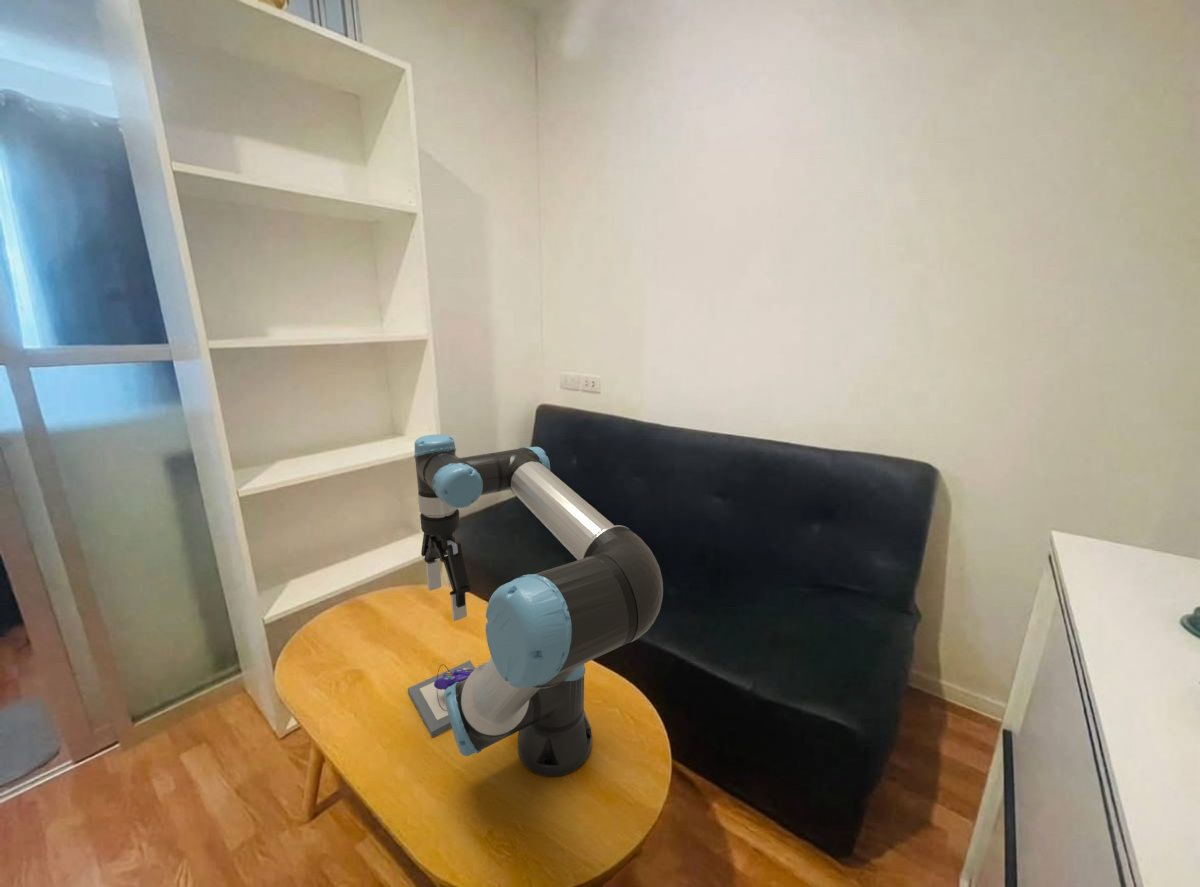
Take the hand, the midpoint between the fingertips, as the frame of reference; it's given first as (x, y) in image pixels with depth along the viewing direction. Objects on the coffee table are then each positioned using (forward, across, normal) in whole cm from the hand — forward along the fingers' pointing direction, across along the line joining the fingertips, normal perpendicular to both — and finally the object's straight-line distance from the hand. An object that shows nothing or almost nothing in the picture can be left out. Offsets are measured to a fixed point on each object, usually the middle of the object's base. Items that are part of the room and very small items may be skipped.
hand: (446, 602), depth 104 cm
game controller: (+23, -2, -1) cm, 23 cm away
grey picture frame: (+25, 0, 0) cm, 25 cm away
